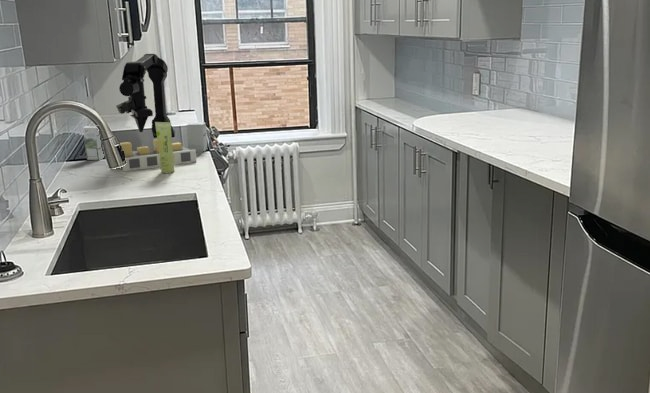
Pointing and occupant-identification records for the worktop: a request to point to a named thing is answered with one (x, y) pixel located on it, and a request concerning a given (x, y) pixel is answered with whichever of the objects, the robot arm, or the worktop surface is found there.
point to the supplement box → (197, 136)
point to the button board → (152, 153)
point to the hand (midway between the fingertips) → (140, 131)
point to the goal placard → (158, 160)
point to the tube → (165, 146)
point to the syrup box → (92, 143)
